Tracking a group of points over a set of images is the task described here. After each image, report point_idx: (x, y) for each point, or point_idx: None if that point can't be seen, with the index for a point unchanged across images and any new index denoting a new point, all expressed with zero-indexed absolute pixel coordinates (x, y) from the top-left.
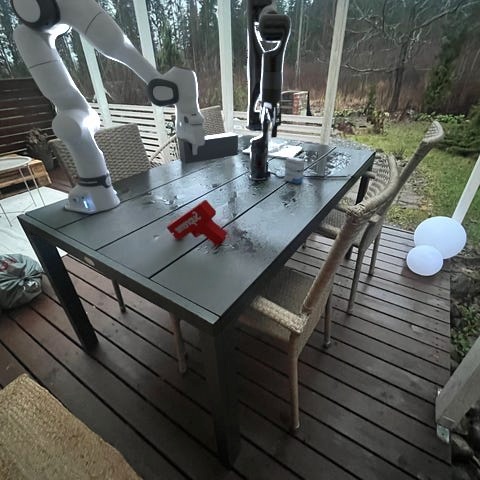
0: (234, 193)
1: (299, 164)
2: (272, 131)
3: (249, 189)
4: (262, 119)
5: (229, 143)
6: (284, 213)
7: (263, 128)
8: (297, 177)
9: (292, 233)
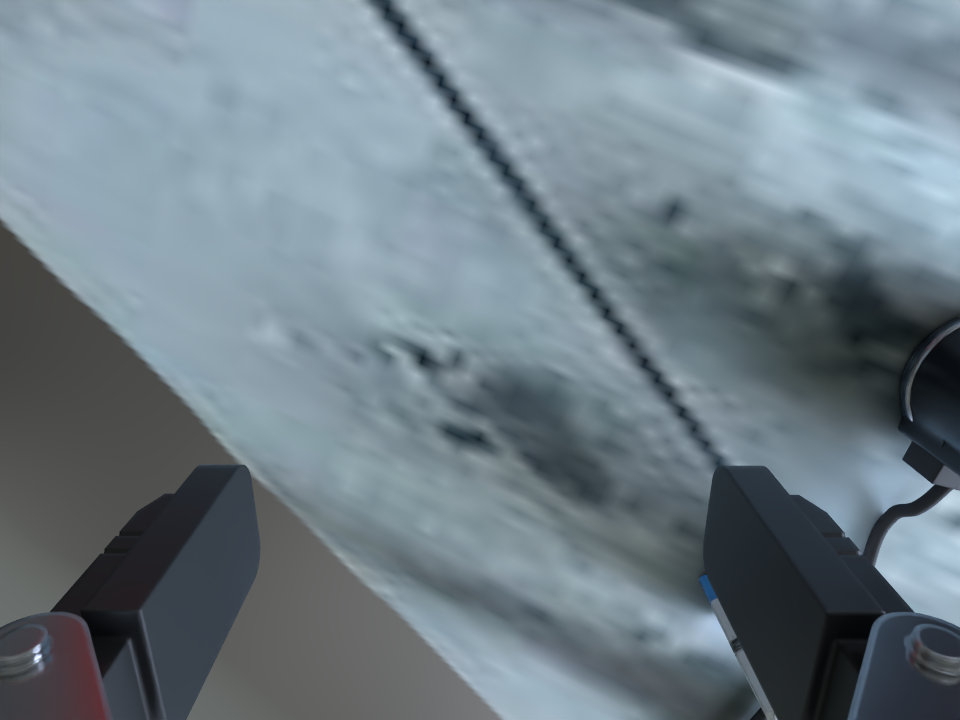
0: (769, 55)
1: (757, 691)
2: (150, 551)
3: (785, 215)
4: (921, 700)
5: None
6: (296, 292)
7: (752, 534)
8: (721, 606)
9: (28, 218)
